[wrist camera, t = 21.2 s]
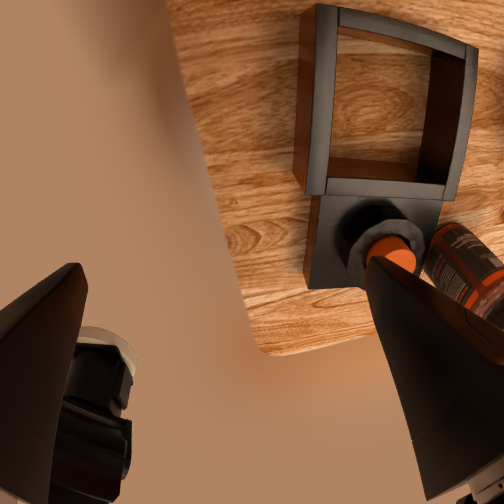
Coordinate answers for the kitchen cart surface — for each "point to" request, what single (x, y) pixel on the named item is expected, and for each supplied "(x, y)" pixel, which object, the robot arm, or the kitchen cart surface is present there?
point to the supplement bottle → (467, 272)
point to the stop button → (393, 252)
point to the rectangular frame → (437, 115)
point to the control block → (362, 235)
